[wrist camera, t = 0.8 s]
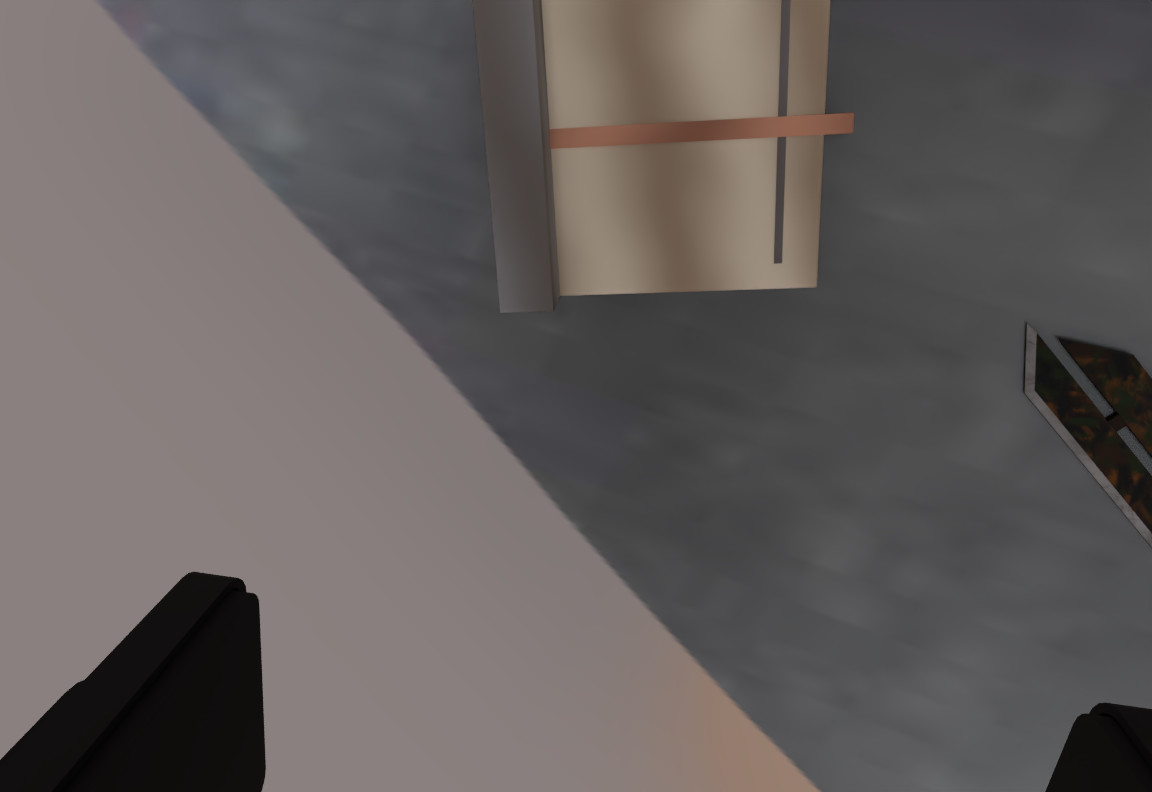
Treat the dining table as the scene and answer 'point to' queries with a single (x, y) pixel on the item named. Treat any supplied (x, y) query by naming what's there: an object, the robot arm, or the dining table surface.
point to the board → (653, 144)
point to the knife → (1098, 418)
